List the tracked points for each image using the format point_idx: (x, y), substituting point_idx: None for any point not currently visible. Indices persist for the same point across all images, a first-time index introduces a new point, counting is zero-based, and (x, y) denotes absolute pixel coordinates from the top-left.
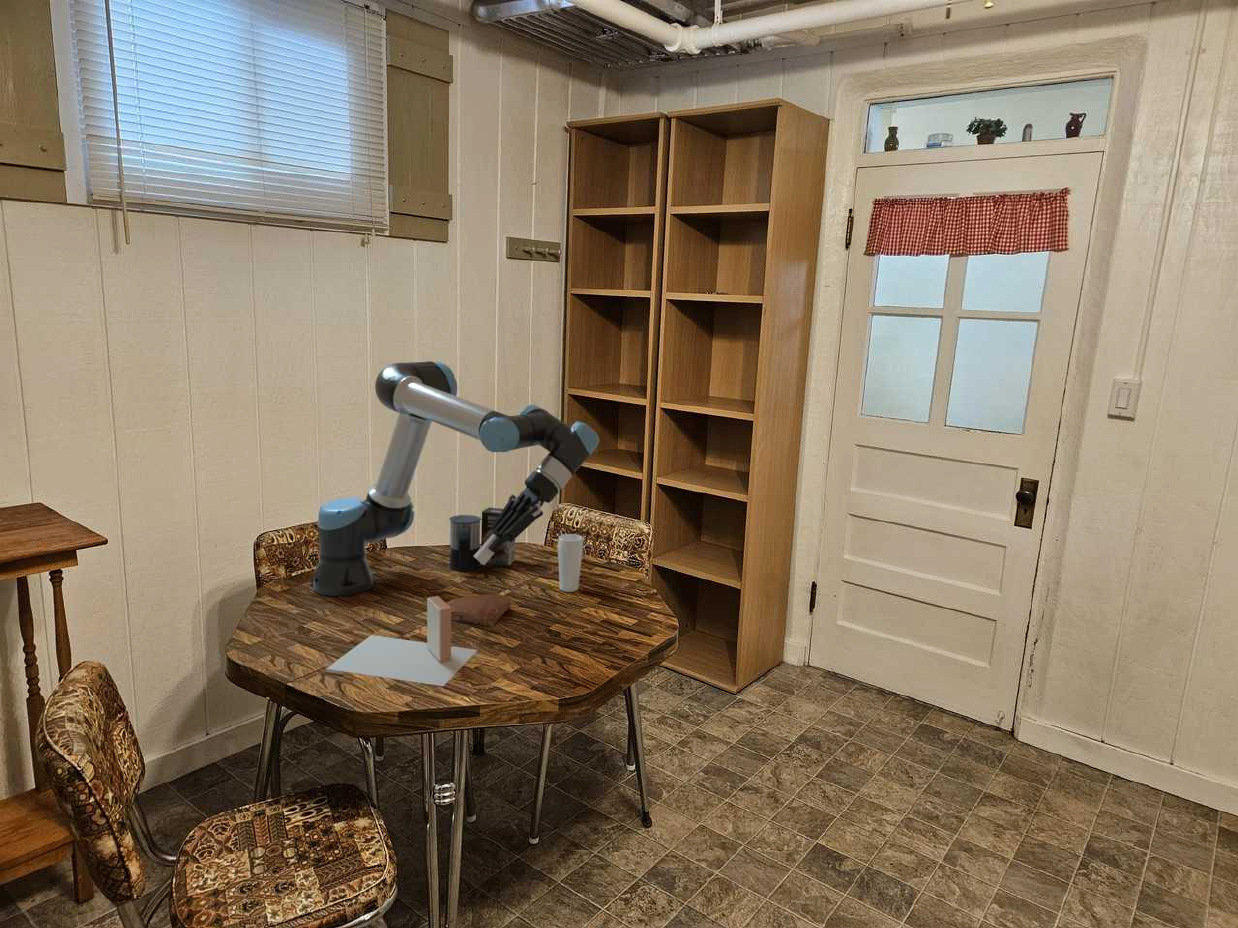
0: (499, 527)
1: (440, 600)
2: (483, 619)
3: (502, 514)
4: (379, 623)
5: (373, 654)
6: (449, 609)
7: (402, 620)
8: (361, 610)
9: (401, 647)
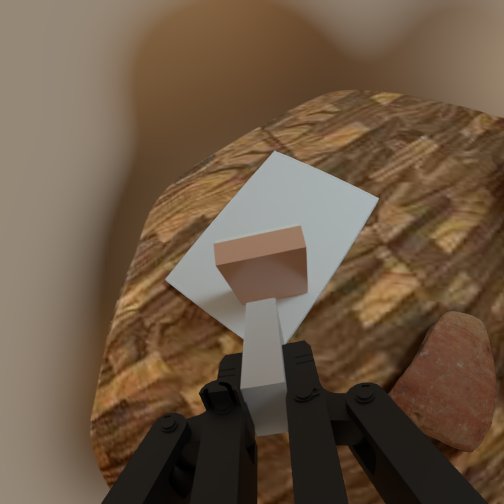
0: (289, 431)
1: (272, 248)
2: (392, 390)
3: (413, 485)
4: (434, 216)
5: (304, 198)
6: (216, 263)
7: (445, 250)
8: (478, 198)
9: (321, 236)
